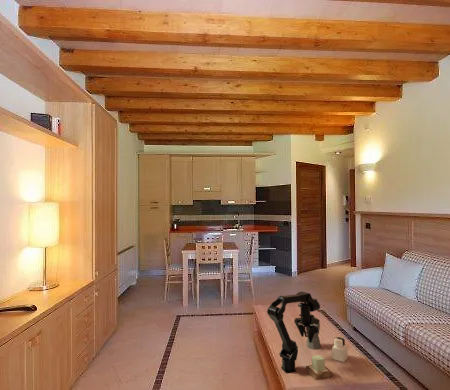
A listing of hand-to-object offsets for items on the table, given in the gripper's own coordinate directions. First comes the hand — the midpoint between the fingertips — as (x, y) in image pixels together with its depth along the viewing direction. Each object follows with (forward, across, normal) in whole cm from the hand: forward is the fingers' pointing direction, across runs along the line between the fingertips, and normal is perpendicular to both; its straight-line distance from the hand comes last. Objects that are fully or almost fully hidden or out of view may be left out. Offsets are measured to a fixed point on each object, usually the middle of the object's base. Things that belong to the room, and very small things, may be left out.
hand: (306, 339), depth 190 cm
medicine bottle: (+13, -3, -21) cm, 25 cm away
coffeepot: (+13, +17, -14) cm, 26 cm away
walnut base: (+13, -14, +1) cm, 19 cm away
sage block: (+10, -14, +1) cm, 17 cm away
